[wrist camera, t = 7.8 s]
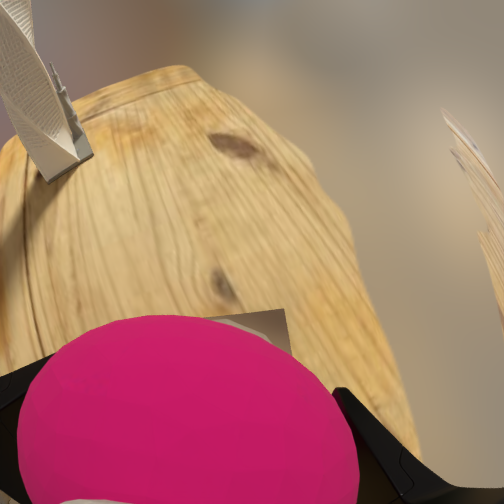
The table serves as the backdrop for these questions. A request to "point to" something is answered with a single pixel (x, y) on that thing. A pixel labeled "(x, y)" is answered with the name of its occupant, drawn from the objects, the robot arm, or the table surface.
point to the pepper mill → (182, 421)
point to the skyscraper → (37, 97)
